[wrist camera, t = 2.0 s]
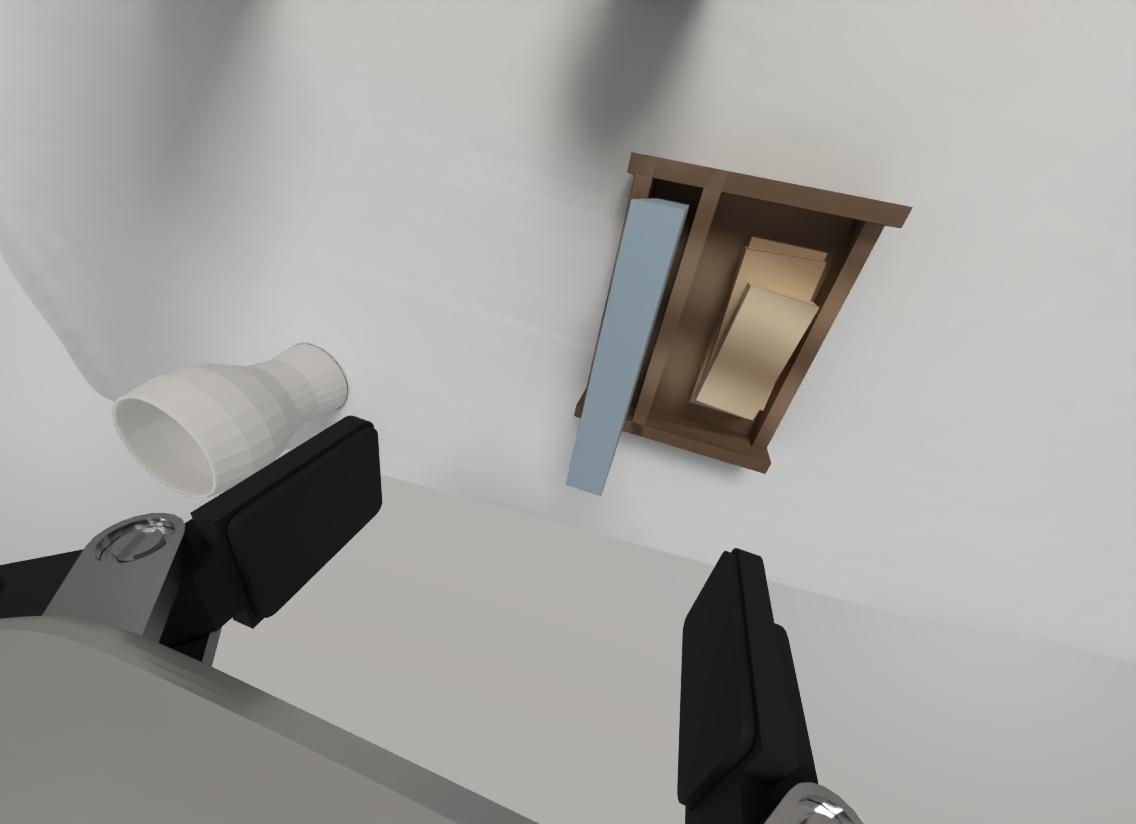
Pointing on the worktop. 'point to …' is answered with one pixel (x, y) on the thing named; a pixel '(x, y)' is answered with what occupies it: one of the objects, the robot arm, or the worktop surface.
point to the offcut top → (754, 349)
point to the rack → (703, 280)
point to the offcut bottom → (751, 243)
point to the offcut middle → (769, 282)
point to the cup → (225, 417)
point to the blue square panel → (625, 334)
